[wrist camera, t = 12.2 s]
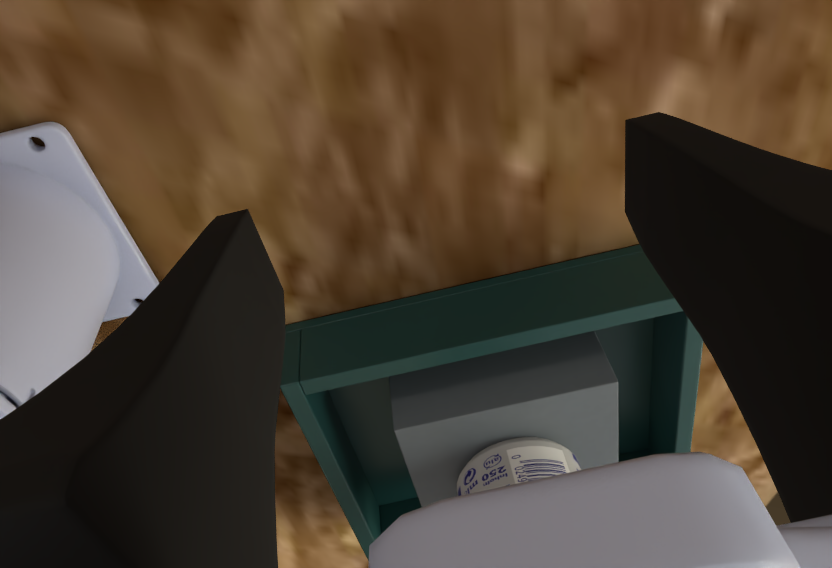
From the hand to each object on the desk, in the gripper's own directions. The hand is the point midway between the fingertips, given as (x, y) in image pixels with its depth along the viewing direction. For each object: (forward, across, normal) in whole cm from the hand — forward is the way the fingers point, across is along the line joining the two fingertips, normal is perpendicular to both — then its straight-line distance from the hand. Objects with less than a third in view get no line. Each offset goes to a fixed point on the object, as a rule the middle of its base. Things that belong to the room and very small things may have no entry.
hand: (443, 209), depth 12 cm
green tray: (+10, -1, +18) cm, 21 cm away
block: (+10, -1, +18) cm, 21 cm away
